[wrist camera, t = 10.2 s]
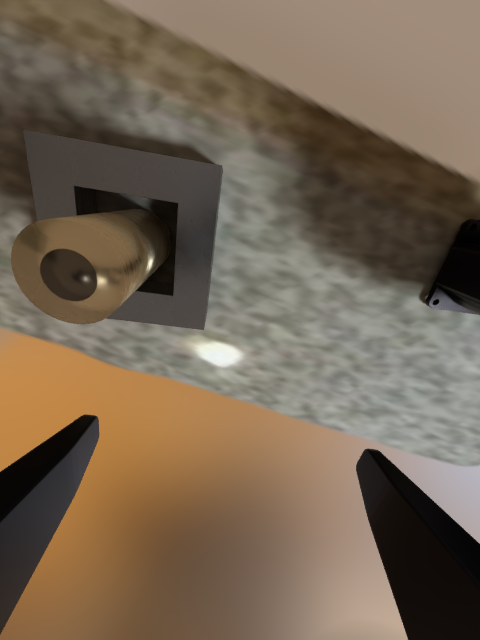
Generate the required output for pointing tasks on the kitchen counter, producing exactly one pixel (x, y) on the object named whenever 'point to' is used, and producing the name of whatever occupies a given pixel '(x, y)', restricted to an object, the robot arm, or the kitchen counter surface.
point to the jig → (144, 181)
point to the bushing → (88, 261)
